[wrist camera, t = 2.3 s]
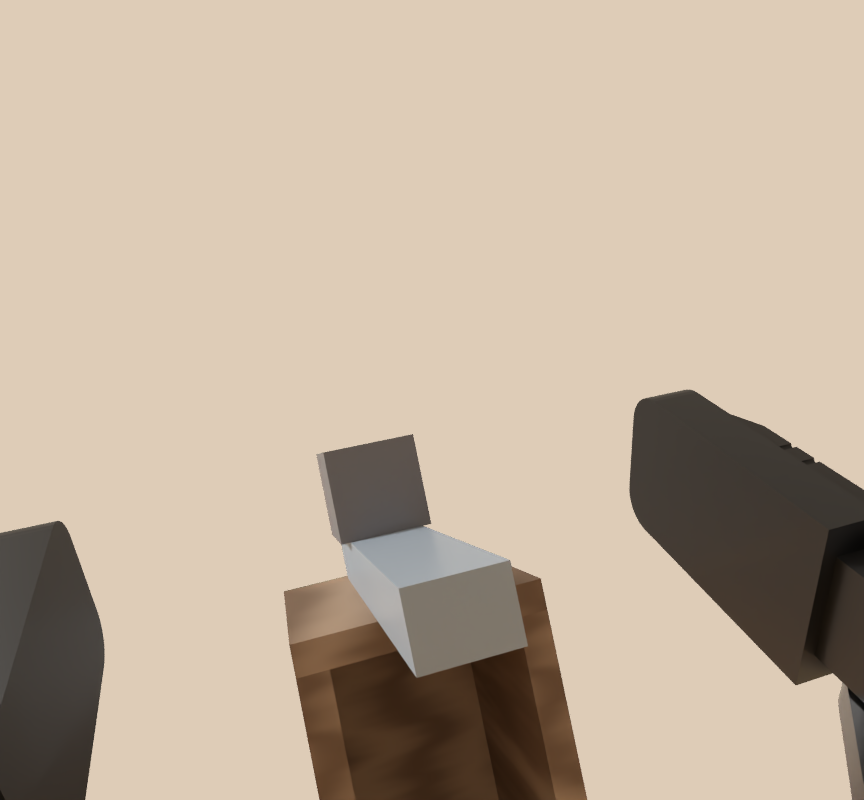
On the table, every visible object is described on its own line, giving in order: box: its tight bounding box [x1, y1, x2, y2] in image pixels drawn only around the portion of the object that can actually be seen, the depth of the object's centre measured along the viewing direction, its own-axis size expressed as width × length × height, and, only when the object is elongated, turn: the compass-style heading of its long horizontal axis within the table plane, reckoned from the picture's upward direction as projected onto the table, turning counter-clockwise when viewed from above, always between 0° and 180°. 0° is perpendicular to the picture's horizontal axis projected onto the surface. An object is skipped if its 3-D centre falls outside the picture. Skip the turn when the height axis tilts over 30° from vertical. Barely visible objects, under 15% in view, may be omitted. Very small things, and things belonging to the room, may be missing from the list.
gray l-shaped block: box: [317, 434, 528, 678], centre depth 35 cm, size 5×22×8 cm, turn 13°
